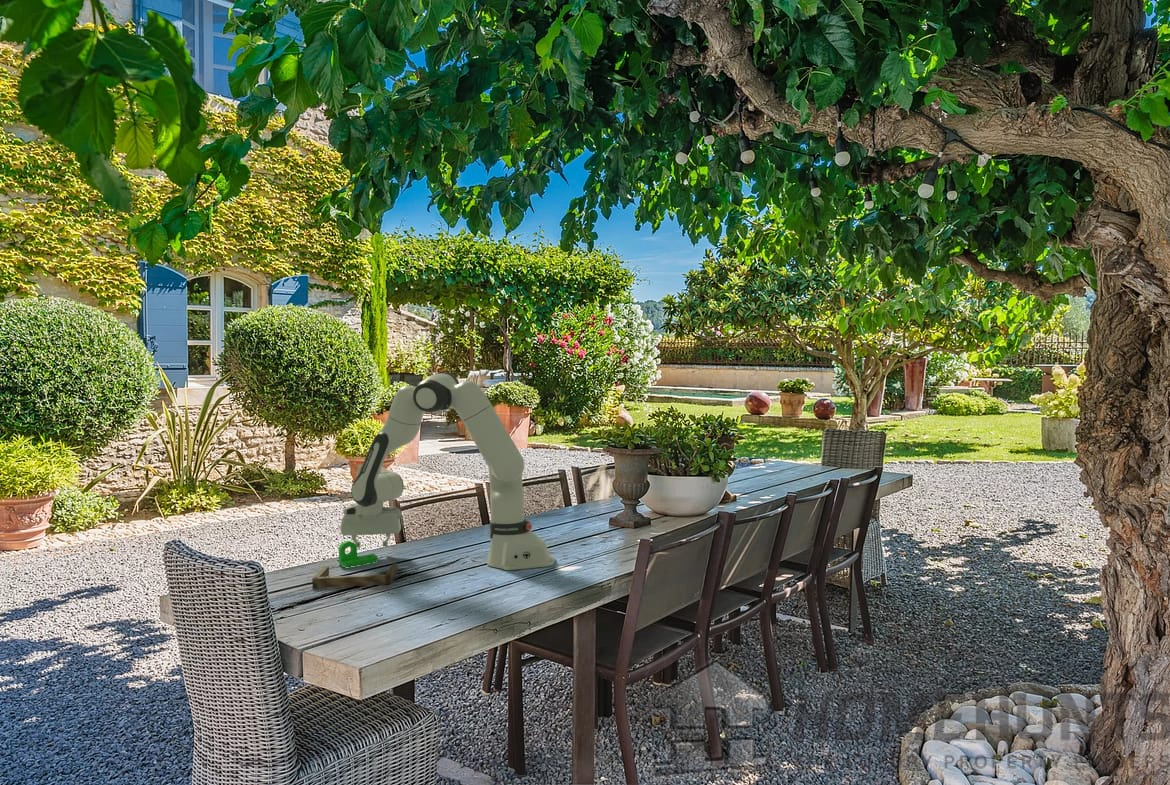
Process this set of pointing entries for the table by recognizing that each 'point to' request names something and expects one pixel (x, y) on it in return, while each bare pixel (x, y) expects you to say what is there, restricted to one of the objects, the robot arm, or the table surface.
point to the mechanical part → (353, 556)
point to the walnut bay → (352, 579)
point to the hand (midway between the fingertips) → (371, 546)
